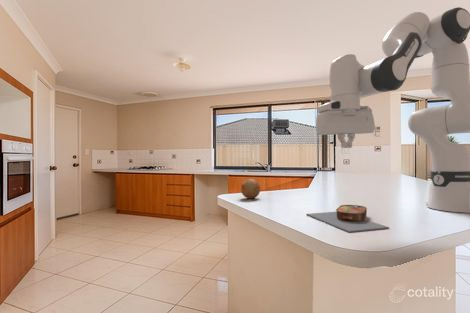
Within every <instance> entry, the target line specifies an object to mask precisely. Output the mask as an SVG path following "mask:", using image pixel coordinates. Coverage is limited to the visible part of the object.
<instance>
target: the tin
mask: <svg viewBox="0 0 470 313" xmlns="http://www.w3.org/2000/svg"><path fill="white" fill-rule="evenodd" d="M367 209H368V208H367V207H366V206H364V205H355V204H343V205H340V206H339V207H337V208H336V211H335V212H337V218H338V219H341V220H352V221H363V220H364V219H365V220H366V216H367V212H368V211H367Z"/></svg>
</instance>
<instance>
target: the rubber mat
mask: <svg viewBox="0 0 470 313" xmlns="http://www.w3.org/2000/svg"><path fill="white" fill-rule="evenodd" d="M306 216H308V217H310V218H313V219H315V220H318V221H320V222H322V223H324V222H325V224H327V225H330V226H331V227H335V228H336V229H340V230H341V231H344V232H346V233H359V232H369V231H377V230H380V231H381V230H386V229H390V227H389V226H386V225H383V224H380V223H378V222H375V221H370V220H367V219H366V218H365V219H364V220H363V221H352V220H341V219H338V218H337V211H327V212H314V213H313V212H312V213H306Z"/></svg>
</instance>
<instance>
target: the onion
mask: <svg viewBox="0 0 470 313" xmlns="http://www.w3.org/2000/svg"><path fill="white" fill-rule="evenodd" d="M240 191H241V194H242V195H243V196H244V198H247V199H255V198H257V197H258V196H259V195H260V192H261V186H260V184H259V182H258V181H257V180H256V179H253V178H246V179H245V180H244V181H243V182H242V183H241V186H240Z"/></svg>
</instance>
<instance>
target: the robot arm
mask: <svg viewBox="0 0 470 313" xmlns="http://www.w3.org/2000/svg"><path fill="white" fill-rule="evenodd" d="M469 32H470V12H469V11H468V10H467V9H465V8H463V7H460V6H459V7H454V8H451V9H449V10H446V11H444V12H443V13H442V14H439V15H437V16H436V17H434V18H431V19H430V18H429V16H428V15H427V14H426V13H424V12H421V11H416V12H412V13H409V14H407V15H406V16H405V17H403V18H401V19H400V20H399V21H398V22H397V23H396V24H395V25H394V26H393V27H392V28H391V29H390V30H389V31H388V32H387V33H386V35H385V36H384V37H383V40H382V42H381V48H382V51H383V54H384V55H385V56H386V57H385V58H382V59H380V60H379V61H376V62H373V63H372V64H369V65H365V66H364V65H363V64H362V63H360V62H359V61H358V60H357V56H356V54H351V53H350V54H345V55H343V56H339V57H338V58H336V59H334V60H333V61H332V62H331V64H330V66H329V67H330V68H329V87H330V92H331V93H330V97H329V98H330V100H329V101H328V102H326V103H324V104H321V105H319V106H317V107H316V111H317V113H318V114H317V116H316V118H315V120H316V121H315V132H316V133H317V134H318V135H319V136H325V135H326V136H328V135H329V136H330V135H331V136H332V135H337V139H338V141H339V143H340V147H341V149H350V148H351V149H352V148H353V142H354V140H355V138H356V135H357V134H358V135H359V134H361V135H362V134H363V135H364V134H373V133H374V131H375V130H376V126H375V118H374V114H373V109H371V107H369V106H368V105H364V106H362V105H361V99H362V98H366V97H369V96H375V95H378V94H382V93H387V92H392V91H397V90H398V89H400V88H401V87H402V86H403V84H404V83H405V81H406V79H407V76H408V71H409V70H410V67H411V65H412V64H413V63H414V60H415V59H418V58H420V57H421V58H422V57H423V56H426V55H428V54H430V53H432V55H433V57H432V61H431V62H432V63H431V70H430V71H431V72H430V73H431V76H430V77H431V80H430V82H431V83H430V89H431V93H432V94H433V95H434V96H436V97H438V98H441V99H448V100H450V103H449V104H445V105H438V106H431V107H426V108H422V109H419V110H415V111H413V112H412V113H411V114H410V116H409V118H408V121H407V125H408V128H409V130H410V132H411V133H412V134H413V135H415V136H417V137H419V138H420V139H422V140H423V141H424V143H425V145H427V147H428V150H429V152H430V160H431V171H430V172H429V173H430V175H429V178H430V180H431V183H430V184H429V186H428V196H427V198H428V199H427V201H426V202H425V205H426V206H427V208H430V209H433V210H439V211H443V212H444V211H446V212H453V213H465V214H466V213H469V214H470V150H469V148H468V147H467V146H464V145H462V144H460V143H456V142H454V141H451V140H450V139H449V137H448V136H449V135H453V134H454V135H456V134H468V133H470V59H469V54H468V48H467V46H466V44H465V43H464V42H465V41H466V40H467V38H468V34H469ZM346 137H347V138H348V139H347V141H346V139H345V138H346Z"/></svg>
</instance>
